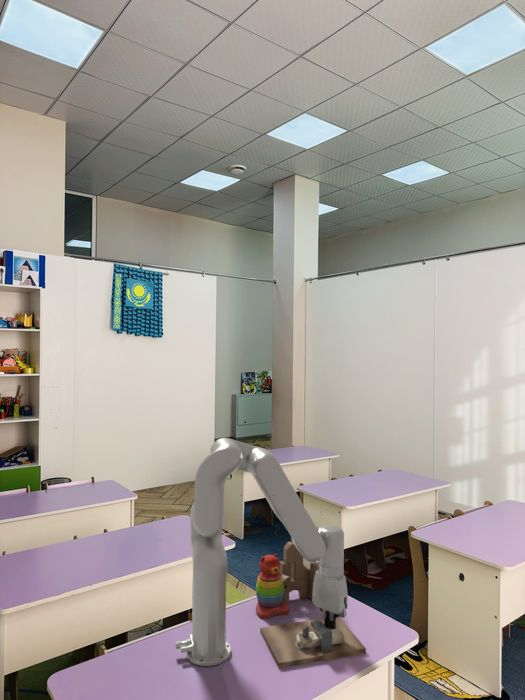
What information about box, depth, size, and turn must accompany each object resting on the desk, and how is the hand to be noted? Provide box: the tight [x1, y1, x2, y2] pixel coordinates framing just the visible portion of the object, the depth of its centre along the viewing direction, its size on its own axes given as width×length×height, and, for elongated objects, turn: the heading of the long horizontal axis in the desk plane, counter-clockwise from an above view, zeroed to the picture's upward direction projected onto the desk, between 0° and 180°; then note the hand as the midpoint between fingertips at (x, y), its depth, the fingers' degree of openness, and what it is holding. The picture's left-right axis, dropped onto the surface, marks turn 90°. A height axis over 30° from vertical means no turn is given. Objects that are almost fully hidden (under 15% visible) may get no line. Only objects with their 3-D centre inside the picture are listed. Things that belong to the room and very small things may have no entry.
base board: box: [259, 617, 367, 670], centre depth 146 cm, size 26×18×2 cm
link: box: [297, 626, 344, 648], centre depth 143 cm, size 14×5×4 cm, turn 102°
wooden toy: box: [279, 540, 318, 607], centre depth 173 cm, size 15×7×25 cm, turn 112°
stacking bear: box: [255, 553, 290, 619], centre depth 165 cm, size 11×10×18 cm
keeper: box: [311, 619, 332, 653], centre depth 143 cm, size 3×8×6 cm, turn 16°
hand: (329, 631), depth 148 cm, fingers closed
